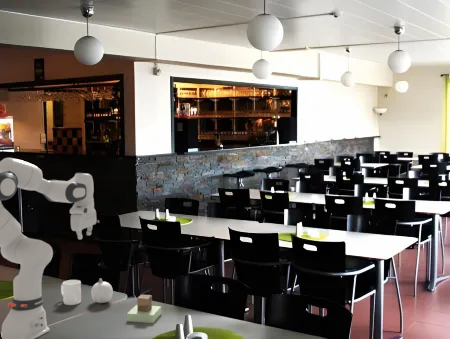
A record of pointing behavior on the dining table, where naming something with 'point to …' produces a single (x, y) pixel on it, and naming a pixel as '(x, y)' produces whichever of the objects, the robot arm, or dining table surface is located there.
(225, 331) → the dining table surface
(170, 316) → the dining table surface
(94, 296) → the ornament
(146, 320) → the base box
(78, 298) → the cup
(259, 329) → the dining table surface
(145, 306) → the walnut block
